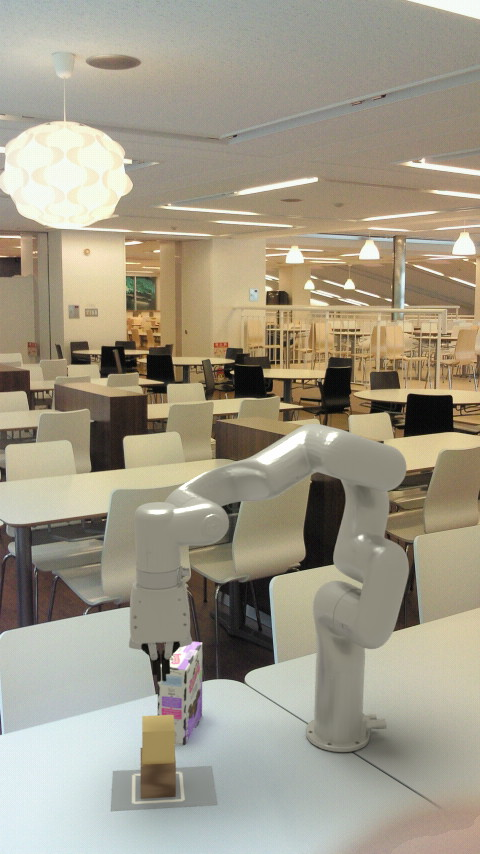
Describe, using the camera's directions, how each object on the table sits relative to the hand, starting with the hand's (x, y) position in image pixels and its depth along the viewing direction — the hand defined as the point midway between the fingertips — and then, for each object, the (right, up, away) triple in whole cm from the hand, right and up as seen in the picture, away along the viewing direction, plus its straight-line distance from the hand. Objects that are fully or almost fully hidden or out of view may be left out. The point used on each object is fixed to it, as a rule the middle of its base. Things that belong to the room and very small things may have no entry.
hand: (161, 677), depth 145 cm
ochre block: (-1, -14, +2) cm, 14 cm away
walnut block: (-1, -20, +3) cm, 20 cm away
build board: (0, -21, +3) cm, 21 cm away
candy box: (+2, -18, +24) cm, 30 cm away
